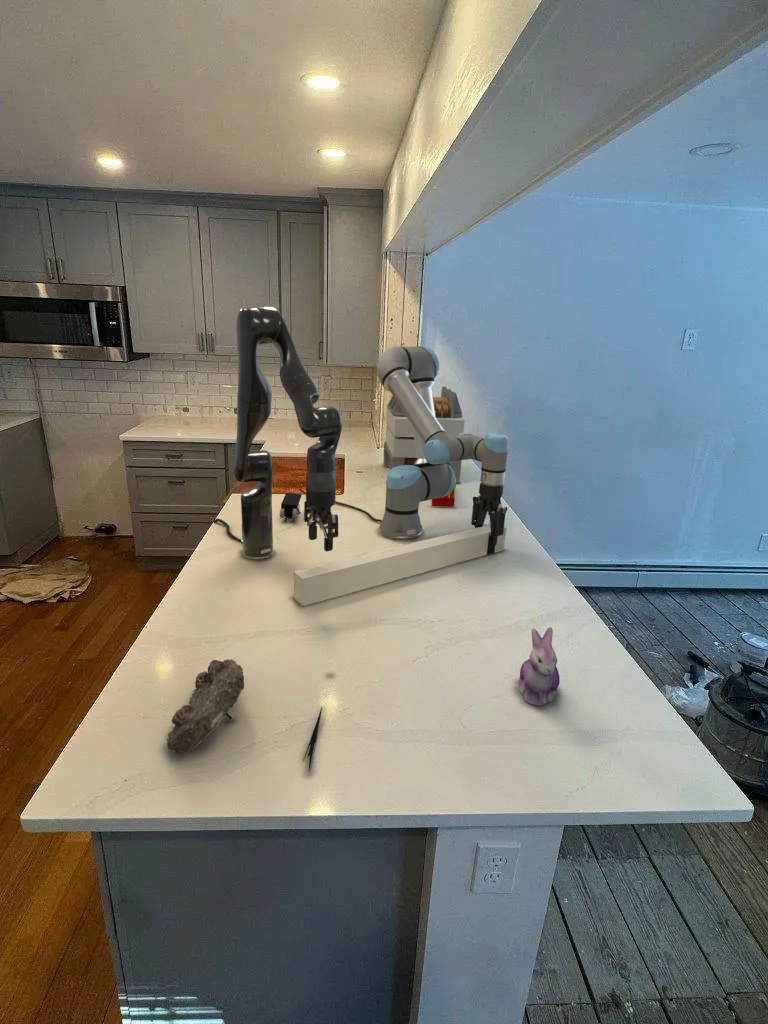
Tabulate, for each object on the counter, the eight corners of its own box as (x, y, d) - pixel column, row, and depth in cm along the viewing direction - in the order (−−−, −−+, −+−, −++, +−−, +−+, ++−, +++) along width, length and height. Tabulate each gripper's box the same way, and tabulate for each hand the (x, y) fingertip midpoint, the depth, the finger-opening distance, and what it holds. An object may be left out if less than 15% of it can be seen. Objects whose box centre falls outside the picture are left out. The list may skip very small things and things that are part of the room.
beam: (493, 545, 194) (495, 523, 191) (503, 550, 190) (506, 527, 187) (294, 598, 153) (293, 571, 150) (302, 606, 149) (302, 578, 146)
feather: (331, 679, 122) (336, 673, 122) (307, 777, 96) (313, 769, 95) (324, 675, 122) (329, 669, 121) (298, 772, 95) (304, 764, 95)
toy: (449, 465, 254) (460, 474, 224) (447, 494, 256) (458, 508, 227) (422, 464, 253) (429, 474, 224) (421, 494, 256) (428, 507, 227)
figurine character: (298, 528, 204) (302, 509, 218) (297, 509, 201) (302, 491, 214) (279, 527, 204) (285, 509, 217) (278, 508, 201) (284, 491, 214)
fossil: (192, 660, 117) (244, 628, 112) (224, 691, 120) (276, 661, 115) (142, 746, 98) (202, 712, 93) (182, 779, 101) (242, 748, 96)
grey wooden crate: (382, 463, 289) (386, 382, 275) (445, 464, 293) (451, 384, 279) (390, 482, 257) (394, 392, 243) (460, 483, 261) (468, 394, 247)
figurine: (537, 713, 113) (548, 649, 108) (505, 684, 121) (513, 623, 116) (572, 701, 117) (584, 638, 112) (538, 673, 125) (548, 613, 120)
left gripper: (294, 480, 147) (295, 538, 153) (321, 496, 136) (321, 557, 142) (320, 477, 151) (320, 533, 157) (348, 491, 141) (346, 551, 146)
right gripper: (463, 477, 185) (457, 543, 193) (504, 492, 171) (495, 562, 179) (480, 474, 189) (473, 538, 197) (521, 489, 175) (512, 557, 183)
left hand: (320, 544), depth 149 cm, fingers open, 8 cm apart
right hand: (484, 550), depth 188 cm, fingers closed on beam, 5 cm apart
